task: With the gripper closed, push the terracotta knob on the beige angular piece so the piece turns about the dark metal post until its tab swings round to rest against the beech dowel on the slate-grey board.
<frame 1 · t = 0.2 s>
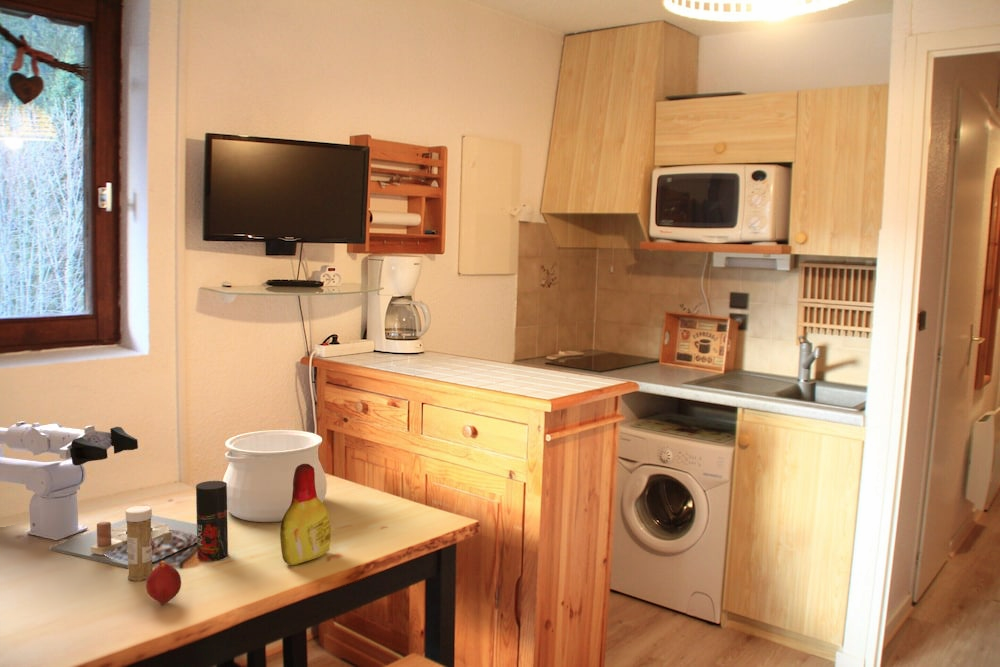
hand: (121, 448, 173), 21 cm above the table, tool horizontal, fingers open, 7 cm apart
deodorant: (212, 557, 171), on the table
onion: (164, 604, 149), on the table
beige angular piece: (129, 527, 176), point 4 cm above the table, hinge at 0.0°
pot: (275, 509, 202), on the table
sprinkles bottle: (140, 577, 160), on the table
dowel: (167, 548, 175), resting on post board
bottle: (304, 560, 171), on the table
post board: (139, 540, 179), on the table
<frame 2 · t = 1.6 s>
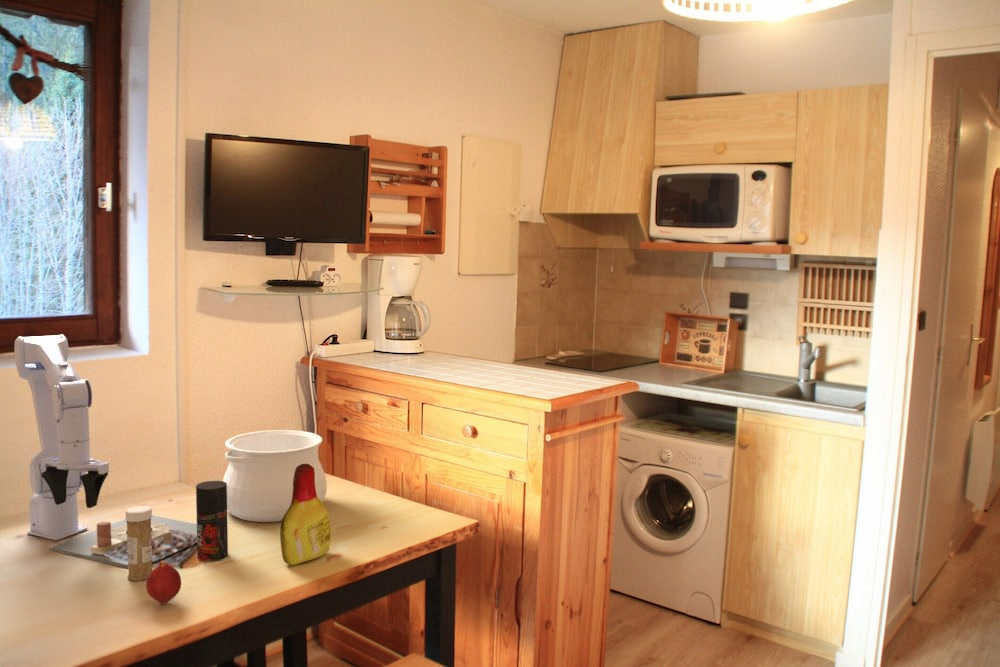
hand: (76, 504, 171), 10 cm above the table, tool pointing down, fingers open, 7 cm apart
nothing on the table moved.
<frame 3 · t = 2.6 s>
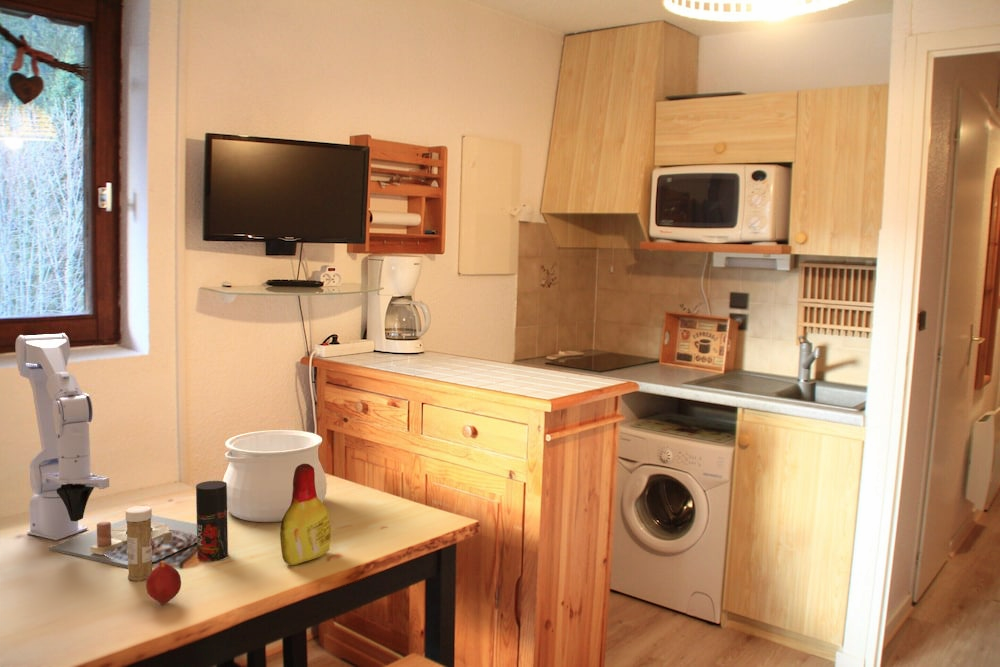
hand: (76, 519, 171), 7 cm above the table, tool pointing down, fingers closed
nothing on the table moved.
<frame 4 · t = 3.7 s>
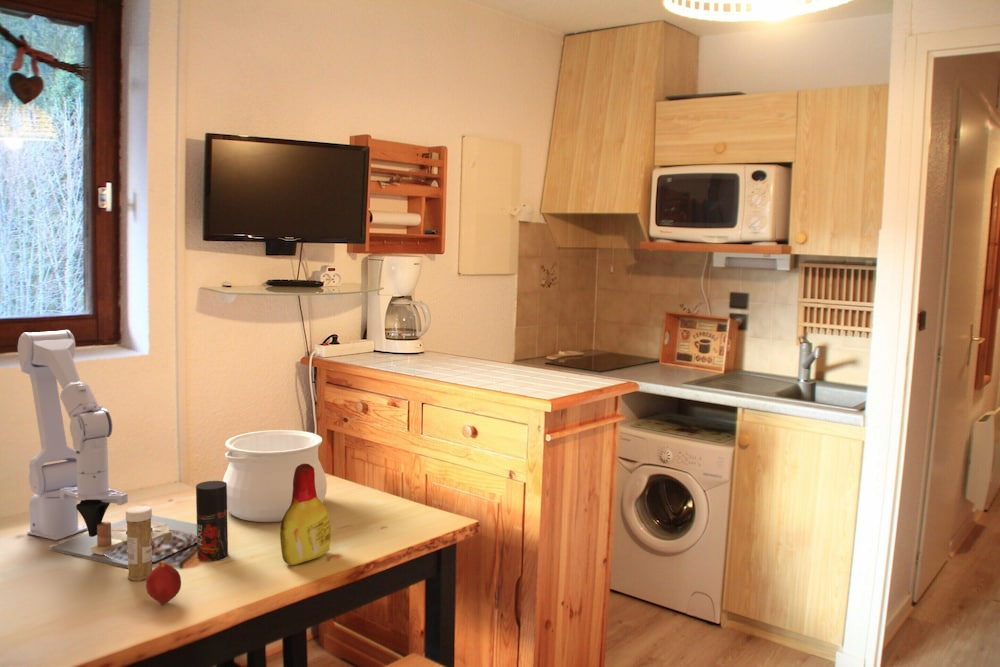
hand: (94, 535, 171), 4 cm above the table, tool pointing down, fingers closed, pressing on beige angular piece
beige angular piece: (129, 527, 176), point 4 cm above the table, hinge at 0.3°, touching gripper
everything else where it was.
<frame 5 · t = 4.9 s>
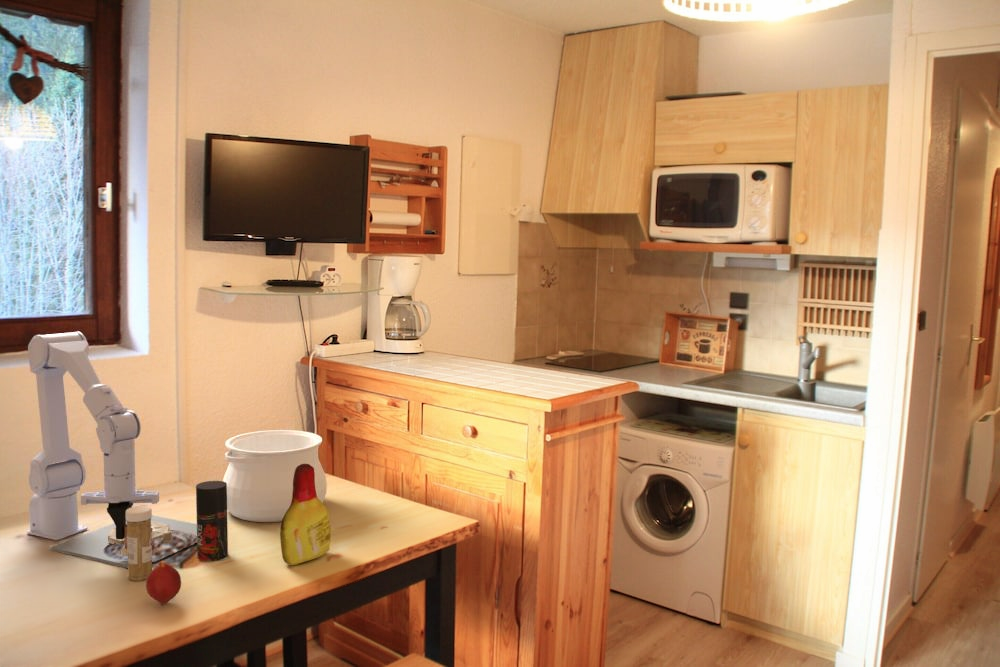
hand: (121, 537, 170), 4 cm above the table, tool pointing down, fingers closed, pressing on beige angular piece
beige angular piece: (136, 527, 176), point 4 cm above the table, hinge at 37.3°, touching gripper
everything else where it was.
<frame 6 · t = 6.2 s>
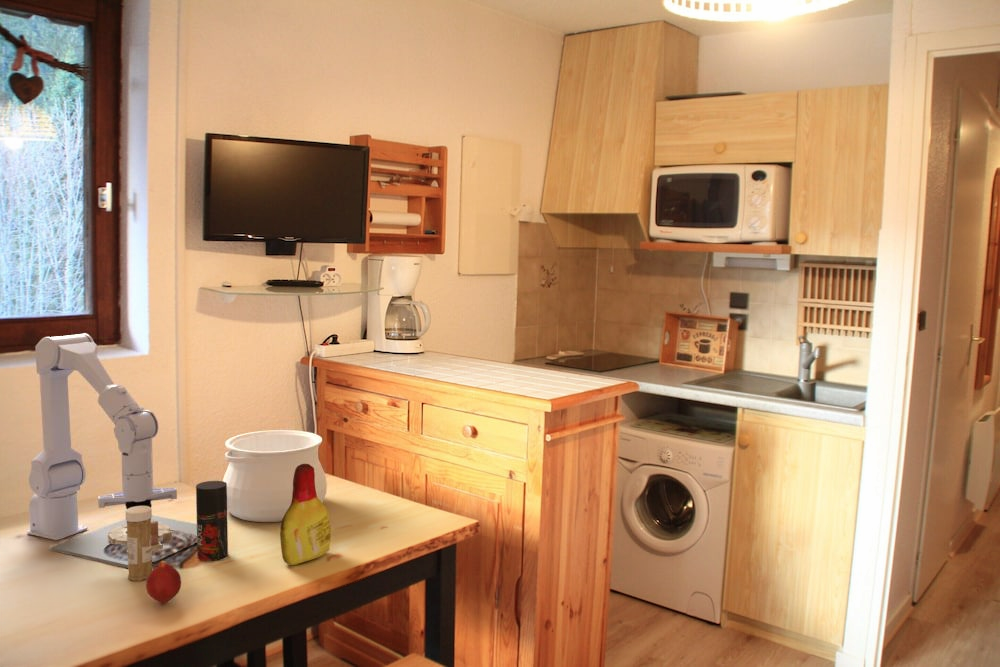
hand: (139, 536, 170), 4 cm above the table, tool pointing down, fingers closed
beige angular piece: (142, 527, 177), point 4 cm above the table, hinge at 61.6°, touching gripper
everything else where it was.
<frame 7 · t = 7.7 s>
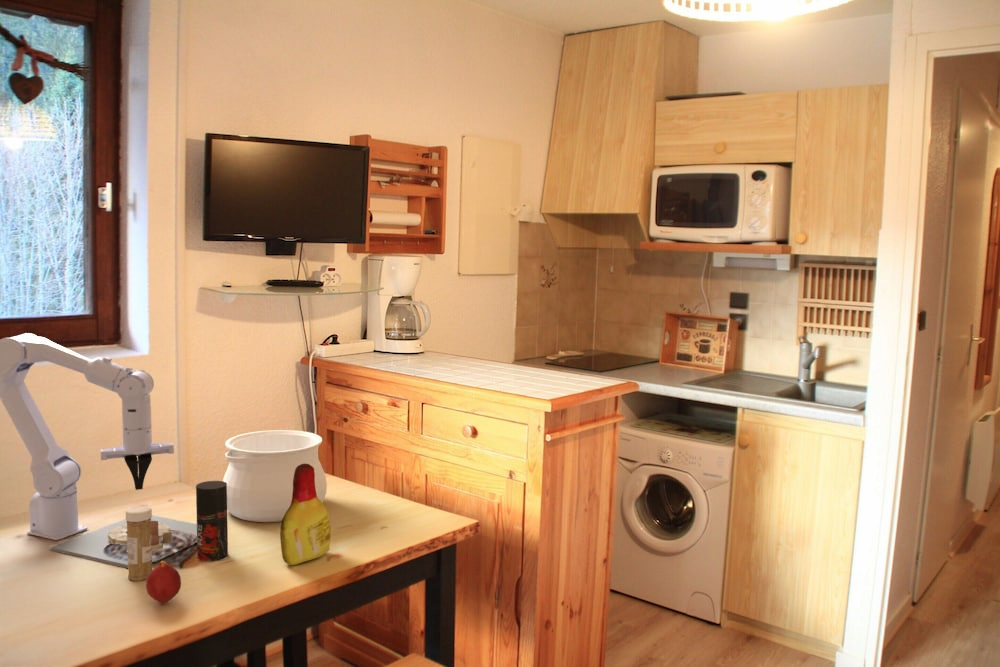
hand: (138, 488, 183), 10 cm above the table, tool pointing down, fingers closed
beige angular piece: (142, 527, 177), point 4 cm above the table, hinge at 61.8°
everything else where it was.
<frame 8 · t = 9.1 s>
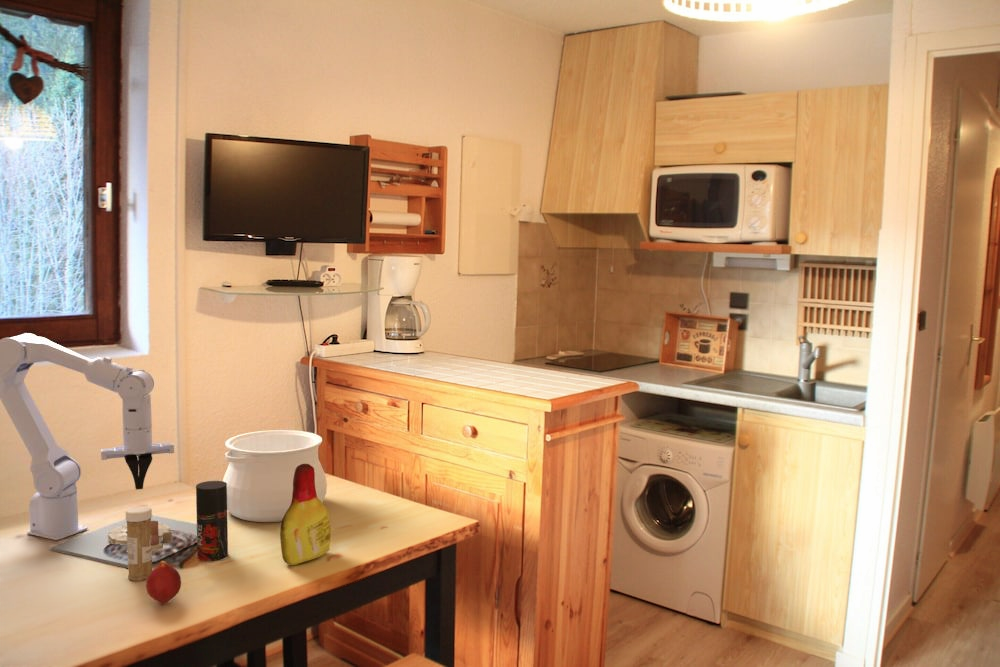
hand: (139, 488, 183), 10 cm above the table, tool pointing down, fingers closed
nothing on the table moved.
at the end: beige angular piece at +62° (first picture: +0°) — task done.
